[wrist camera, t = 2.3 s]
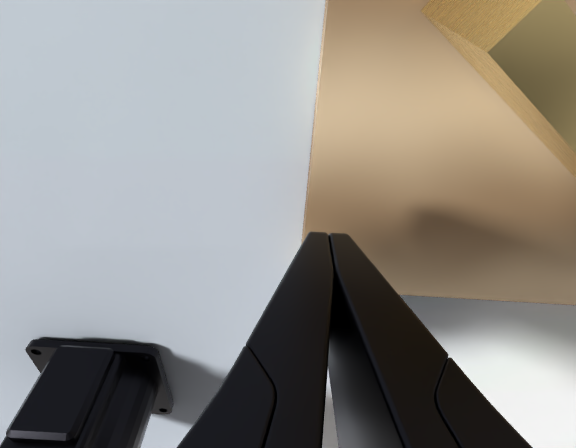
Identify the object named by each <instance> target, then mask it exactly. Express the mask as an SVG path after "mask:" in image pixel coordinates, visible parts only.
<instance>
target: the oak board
mask: <svg viewBox="0 0 576 448" xmlns="http://www.w3.org/2000/svg"><path fill="white" fill-rule="evenodd" d="M428 1H429V0H326V3H325V13H324V23H323V33H322V43H321V53H320V63H319V73H318V83H317V93H316V103H315V113H314V123H313V133H312V143H311V153H310V163H309V173H308V183H307V193H306V204H305V214H304V224H303V234H302V243H303V241H304V239H305V238H306V236H307V234H308V233H309V232H311V231H315V232H326V233H327V234H328V235H329V234H330V233H346V234H348V235H349V236H350V237H351V238H352V239H353V240H354V241H355V243H356V244H357V245H358V246H359V247H360V249H361V250H362V251H363V252H364V253H365V255H366V256H367V257H368V258H369V260H370V261H371V262H372V263H373V264H374V266H375V267H376V268H377V269H378V270H379V272H380V273H381V274H382V275H383V276H384V278H385V279H386V280H387V281H388V282H389V284H390V285H391V286H392V287H393V288H394V290H395V291H396V292H397V293H398V294H399V295H411V296H428V297H445V298H462V299H479V300H496V301H513V302H530V303H547V304H564V305H576V178H575V177H574V176H573V175H572V174H571V173H570V172H569V171H568V170H567V168H566V167H565V166H564V165H563V164H562V163H561V162H560V161H559V160H558V159H557V158H556V157H555V156H554V154H553V153H552V152H551V151H550V150H549V149H548V148H547V147H546V146H545V145H544V144H543V143H542V142H541V140H540V139H539V138H538V137H537V136H536V135H535V134H534V133H533V132H532V131H531V130H530V129H529V128H528V126H527V125H526V124H525V123H524V122H523V121H522V120H521V119H520V118H519V117H518V116H517V115H516V114H515V112H514V111H513V110H512V109H511V108H510V107H509V106H508V105H507V104H506V103H505V102H504V101H503V100H502V98H501V97H500V96H499V95H498V94H497V93H496V92H495V91H494V90H493V89H492V88H491V87H490V86H489V84H488V83H487V82H486V81H485V80H484V79H483V78H482V77H481V76H480V75H479V74H478V73H477V72H476V70H475V69H474V68H473V67H472V66H471V65H470V64H469V63H468V62H467V61H466V60H465V59H464V58H463V56H462V55H461V54H460V53H459V52H458V51H457V50H456V49H455V48H454V47H453V46H452V45H451V43H450V42H449V41H448V40H447V39H446V38H445V37H444V36H443V35H442V34H441V33H440V32H439V31H438V29H437V28H436V27H435V26H434V25H433V24H432V23H431V22H430V21H429V20H428V19H427V18H426V17H425V15H424V14H423V13H422V12H421V11H420V10H421V9H422V8H423V7H424V6H425V5H426V4H427V2H428ZM565 2H566V3H567V5H568V6H569V7H570V9H571V10H572V12H573V13H574V14H575V16H576V0H565ZM301 245H302V244H301Z"/></svg>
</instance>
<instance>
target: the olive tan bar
mask: <svg viewBox="0 0 576 448" xmlns="http://www.w3.org/2000/svg"><path fill="white" fill-rule="evenodd" d="M420 11H421V12H422V13H423V14H424V15H425V17H426V18H427V19H428V20H429V21H430V22H431V23H432V24H433V25H434V26H435V27H436V28H437V29H438V31H439V32H440V33H441V34H442V35H443V36H444V37H445V38H446V39H447V40H448V41H449V42H450V43H451V45H452V46H453V47H454V48H455V49H456V50H457V51H458V52H459V53H460V54H461V55H462V56H463V58H464V59H465V60H466V61H467V62H468V63H469V64H470V65H471V66H472V67H473V68H474V69H475V70H476V72H477V73H478V74H479V75H480V76H481V77H482V78H483V79H484V80H485V81H486V82H487V83H488V84H489V86H490V87H491V88H492V89H493V90H494V91H495V92H496V93H497V94H498V95H499V96H500V97H501V98H502V100H503V101H504V102H505V103H506V104H507V105H508V106H509V107H510V108H511V109H512V110H513V111H514V112H515V114H516V115H517V116H518V117H519V118H520V119H521V120H522V121H523V122H524V123H525V124H526V125H527V126H528V128H529V129H530V130H531V131H532V132H533V133H534V134H535V135H536V136H537V137H538V138H539V139H540V140H541V142H542V143H543V144H544V145H545V146H546V147H547V148H548V149H549V150H550V151H551V152H552V153H553V154H554V156H555V157H556V158H557V159H558V160H559V161H560V162H561V163H562V164H563V165H564V166H565V167H566V168H567V170H568V171H569V172H570V173H571V174H572V175H573V176H574V177H575V178H576V16H575V14H574V13H573V12H572V10H571V9H570V7H569V6H568V5H567V3H566V2H565V0H429V1H428V2H427V4H426V5H425V6H424V7H423V8H422V9H421V10H420Z"/></svg>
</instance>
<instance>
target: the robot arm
mask: <svg viewBox="0 0 576 448" xmlns="http://www.w3.org/2000/svg"><path fill="white" fill-rule="evenodd" d="M25 350H26V352H27V354H28V355H29V357H30V358H31V360H32V361H33V363H34V364H35V365H36V367H37V368H38V370H39V371H40V373H41V374H40V376H39V377H38V379H37V381H36V382H35V384H34V386H33V387H32V389H31V391H30V392H29V394H28V396H27V397H26V399H25V401H24V402H23V404H22V406H21V407H20V409H19V411H18V412H17V414H16V416H15V417H14V419H13V421H12V422H11V424H10V426H9V427H8V429H7V432H6V437H5V438H4V440H3V442H2V443H1V445H0V448H140V447H141V444H142V441H143V438H144V435H145V431H146V428H147V425H148V422H149V419H150V416H151V414H170V413H171V412H172V408H173V401H172V397H171V394H170V390H169V387H168V383H167V380H166V377H165V373H164V370H163V366H162V363H161V359H160V356H159V352H158V351H157V349H155V348H153V347H151V346H142V345H125V344H107V343H90V342H73V341H56V340H38V339H36V340H32V341H31V342H30V343H29V345H28V346H27V347H26V349H25ZM328 369H329V377H330V384H331V392H332V399H333V407H334V415H335V422H336V430H337V437H338V445H339V448H532V447H531V446H530V445H529V443H528V442H527V441H526V440H525V439H524V438H523V437H522V436H521V435H520V434H519V433H518V432H517V431H516V430H515V429H514V428H513V427H512V426H511V425H510V424H509V423H508V422H507V421H506V419H505V418H504V417H503V416H502V415H501V414H500V413H499V412H498V411H497V410H496V409H495V408H494V407H493V406H492V405H491V404H490V402H489V401H488V400H487V399H486V398H485V397H484V396H483V394H482V393H481V392H480V391H479V390H478V389H477V387H476V386H475V385H474V384H473V383H472V382H471V381H470V379H469V378H468V377H467V376H466V375H465V374H464V372H463V371H462V370H461V369H460V368H459V366H458V365H457V364H456V363H455V362H454V360H453V359H452V358H448V353H447V352H446V351H445V350H444V349H443V347H442V346H441V345H440V344H439V343H438V341H437V340H436V339H435V338H434V337H433V335H432V334H431V333H430V332H429V331H428V329H427V328H426V327H425V326H424V325H423V323H422V322H421V321H420V320H419V318H418V317H417V316H416V315H415V314H414V312H413V311H412V310H411V309H410V308H409V306H408V305H407V304H406V303H405V302H404V300H403V299H402V298H401V297H400V296H399V294H398V293H397V292H396V291H395V290H394V288H393V287H392V286H391V285H390V284H389V282H388V281H387V280H386V279H385V278H384V276H383V275H382V274H381V273H380V272H379V270H378V269H377V268H376V267H375V266H374V264H373V263H372V262H371V261H370V260H369V258H368V257H367V256H366V255H365V253H364V252H363V251H362V250H361V249H360V247H359V246H358V245H357V244H356V243H355V241H354V240H353V239H352V238H351V237H350V236H349V235H348V234H346V233H330V234H329V235H328V234H327V233H326V232H315V231H311V232H309V233H308V234H307V236H306V238H305V239H304V241H303V243H302V245H301V247H300V248H299V250H298V252H297V254H296V255H295V257H294V259H293V261H292V263H291V264H290V266H289V268H288V270H287V271H286V273H285V275H284V277H283V279H282V280H281V282H280V284H279V286H278V287H277V289H276V291H275V293H274V295H273V296H272V298H271V300H270V302H269V303H268V305H267V307H266V309H265V311H264V312H263V314H262V316H261V318H260V319H259V321H258V323H257V325H256V327H255V328H254V330H253V332H252V334H251V335H250V337H249V339H248V341H247V343H246V346H245V347H243V349H242V351H241V353H240V354H239V356H238V358H237V360H236V362H235V363H234V365H233V367H232V368H231V370H230V372H229V373H228V375H227V376H226V378H225V380H224V381H223V383H222V385H221V386H220V388H219V390H218V391H217V392H216V394H215V395H214V397H213V398H212V400H211V401H210V403H209V404H208V405H207V407H206V408H205V410H204V411H203V413H202V414H201V415H200V417H199V418H198V420H197V421H196V422H195V424H194V425H193V426H192V428H191V429H190V430H189V432H188V433H187V435H186V436H185V437H184V439H183V440H182V441H181V443H180V444H179V445H178V447H177V448H322V439H323V425H324V411H325V397H326V383H327V370H328Z"/></svg>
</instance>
